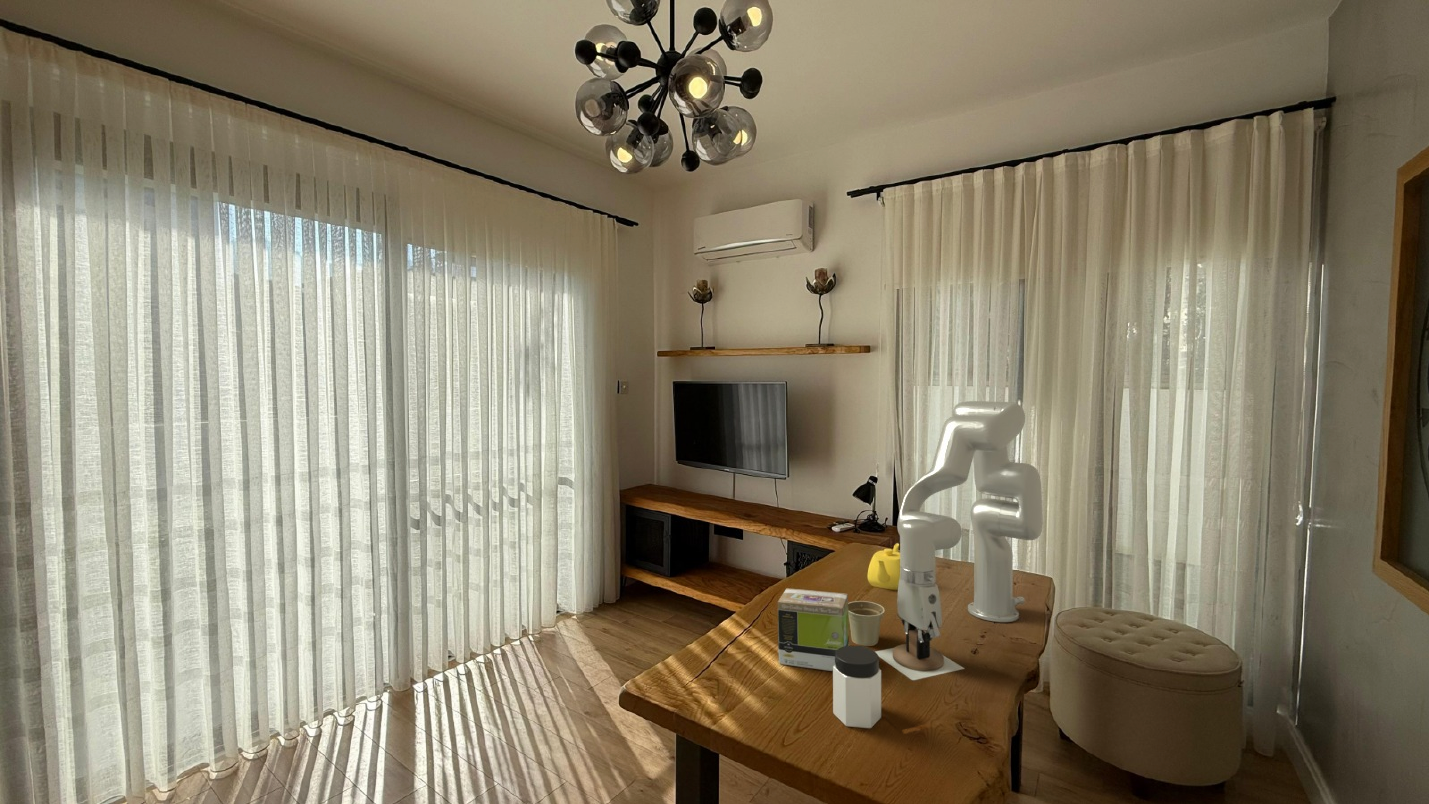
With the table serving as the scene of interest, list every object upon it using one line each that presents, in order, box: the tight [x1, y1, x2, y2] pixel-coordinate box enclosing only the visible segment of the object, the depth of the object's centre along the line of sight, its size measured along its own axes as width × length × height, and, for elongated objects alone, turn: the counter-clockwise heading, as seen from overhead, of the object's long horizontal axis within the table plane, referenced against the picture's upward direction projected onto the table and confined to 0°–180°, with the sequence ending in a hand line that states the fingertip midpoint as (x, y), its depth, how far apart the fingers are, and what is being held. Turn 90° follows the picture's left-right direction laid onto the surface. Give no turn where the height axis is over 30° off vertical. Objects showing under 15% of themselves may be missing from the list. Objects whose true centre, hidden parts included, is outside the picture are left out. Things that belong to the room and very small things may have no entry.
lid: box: [893, 628, 944, 671], centre depth 132 cm, size 11×11×6 cm
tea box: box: [777, 587, 850, 672], centre depth 134 cm, size 15×10×15 cm, turn 71°
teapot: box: [867, 542, 900, 591], centre depth 184 cm, size 22×16×11 cm
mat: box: [875, 647, 965, 681], centre depth 132 cm, size 14×14×1 cm
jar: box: [832, 644, 882, 729], centre depth 111 cm, size 9×8×12 cm
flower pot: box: [848, 600, 886, 647], centre depth 142 cm, size 9×9×9 cm
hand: (917, 653), depth 132 cm, fingers closed on lid, 2 cm apart
